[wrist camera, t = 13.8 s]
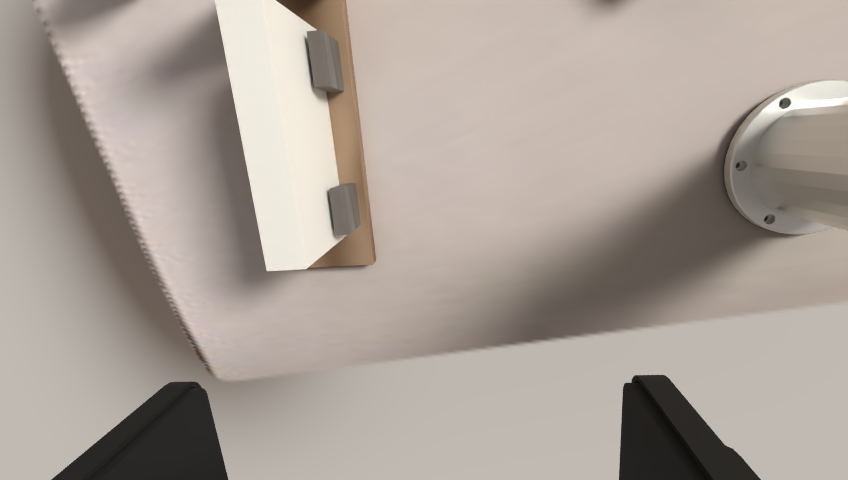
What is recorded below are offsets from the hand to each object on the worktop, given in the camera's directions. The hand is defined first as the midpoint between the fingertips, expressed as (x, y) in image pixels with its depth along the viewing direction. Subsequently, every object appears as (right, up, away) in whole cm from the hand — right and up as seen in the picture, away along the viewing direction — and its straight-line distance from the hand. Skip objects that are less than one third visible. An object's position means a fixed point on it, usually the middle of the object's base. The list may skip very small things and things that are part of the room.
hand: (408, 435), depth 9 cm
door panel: (-9, +13, +27) cm, 32 cm away
